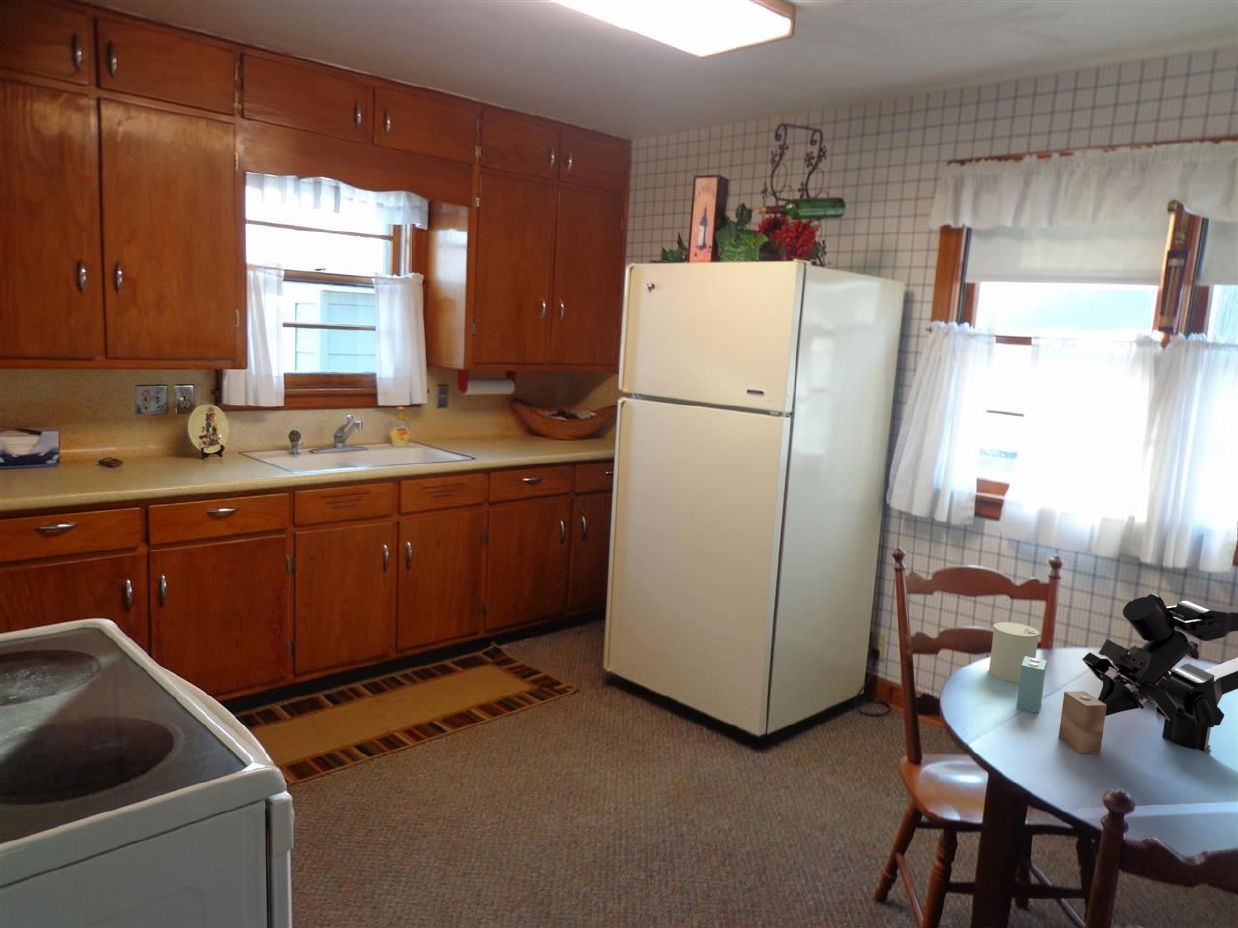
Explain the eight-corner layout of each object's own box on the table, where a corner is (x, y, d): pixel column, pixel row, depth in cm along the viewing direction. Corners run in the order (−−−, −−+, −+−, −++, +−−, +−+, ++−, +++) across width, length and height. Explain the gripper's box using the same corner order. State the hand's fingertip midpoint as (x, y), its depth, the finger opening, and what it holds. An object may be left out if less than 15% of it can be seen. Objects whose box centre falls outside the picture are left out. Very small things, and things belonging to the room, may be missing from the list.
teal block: (1041, 702, 178) (1046, 659, 177) (1038, 713, 173) (1044, 668, 172) (1019, 698, 180) (1025, 655, 179) (1016, 708, 175) (1021, 664, 174)
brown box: (1078, 737, 163) (1084, 690, 162) (1100, 752, 157) (1106, 704, 156) (1058, 737, 163) (1064, 690, 161) (1079, 753, 157) (1086, 704, 155)
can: (1027, 691, 187) (1034, 637, 185) (982, 679, 192) (988, 626, 191) (1037, 678, 194) (1044, 626, 192) (994, 667, 200) (999, 616, 198)
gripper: (1097, 610, 167) (1037, 666, 167) (1172, 645, 149) (1105, 708, 149) (1129, 649, 169) (1070, 705, 169) (1207, 689, 151) (1140, 751, 151)
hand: (1094, 715), depth 160 cm, fingers closed, pressing on brown box
